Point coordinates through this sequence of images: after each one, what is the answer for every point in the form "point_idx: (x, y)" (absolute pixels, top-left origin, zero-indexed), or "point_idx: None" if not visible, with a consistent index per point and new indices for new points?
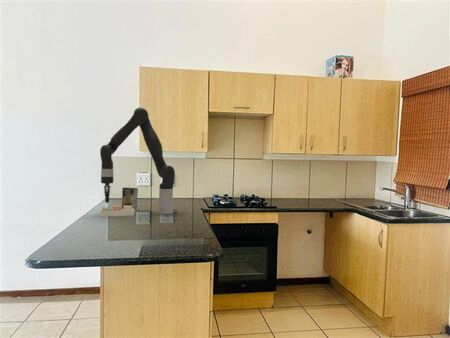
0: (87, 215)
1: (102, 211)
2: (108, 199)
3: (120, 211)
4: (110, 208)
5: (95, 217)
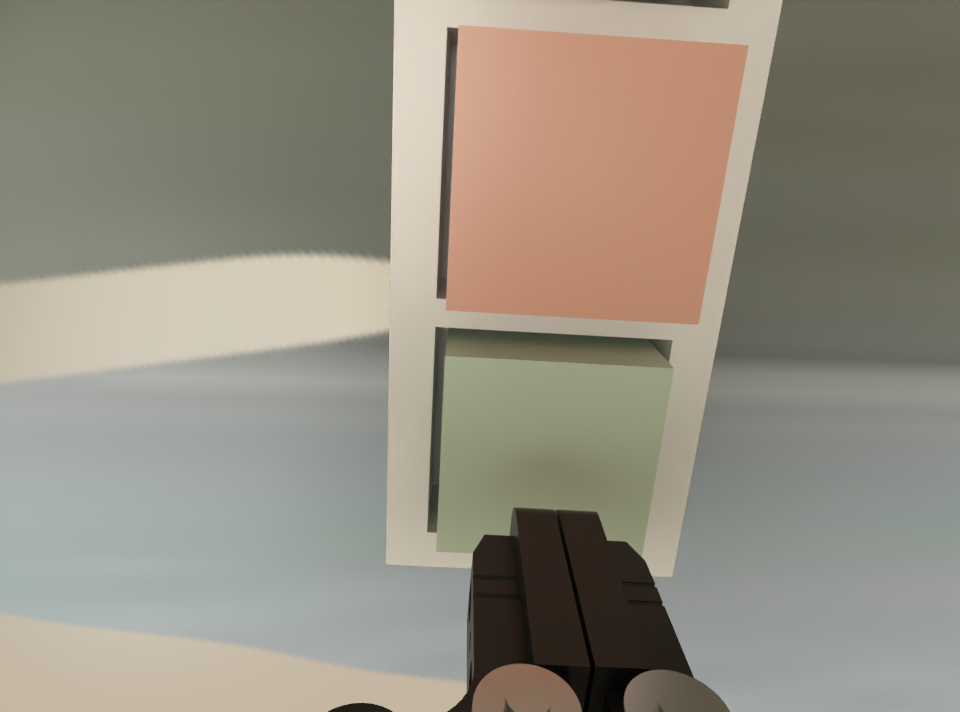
0: (459, 677)
1: (680, 523)
2: (615, 592)
3: (757, 97)
4: (631, 376)
5: (685, 567)
